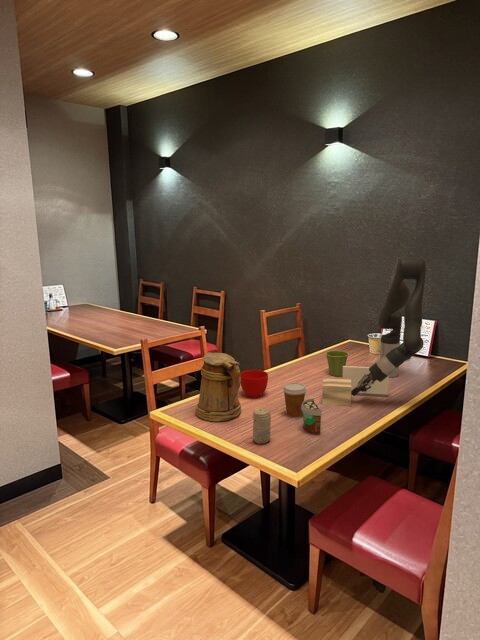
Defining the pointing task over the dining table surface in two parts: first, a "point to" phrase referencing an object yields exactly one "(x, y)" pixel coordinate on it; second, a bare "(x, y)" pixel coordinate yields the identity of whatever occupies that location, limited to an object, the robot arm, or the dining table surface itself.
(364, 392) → the letter sign
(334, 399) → the beech block
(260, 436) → the beige textured cylinder
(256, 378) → the ceramic cup
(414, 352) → the robot arm
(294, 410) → the disposable coffee cup
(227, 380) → the tankard
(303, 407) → the food container
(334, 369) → the plant pot
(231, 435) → the dining table surface
